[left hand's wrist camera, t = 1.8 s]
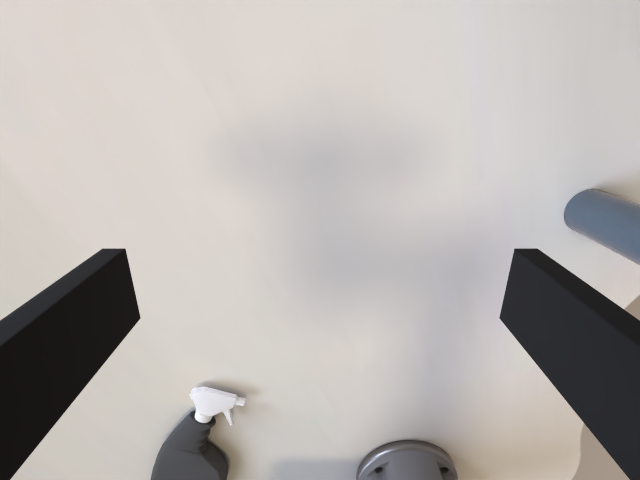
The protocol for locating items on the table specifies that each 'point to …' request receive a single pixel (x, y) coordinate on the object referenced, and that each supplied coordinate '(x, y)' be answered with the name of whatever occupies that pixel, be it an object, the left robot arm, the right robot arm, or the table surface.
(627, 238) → the jar
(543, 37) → the table surface
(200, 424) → the spray bottle
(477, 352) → the table surface
